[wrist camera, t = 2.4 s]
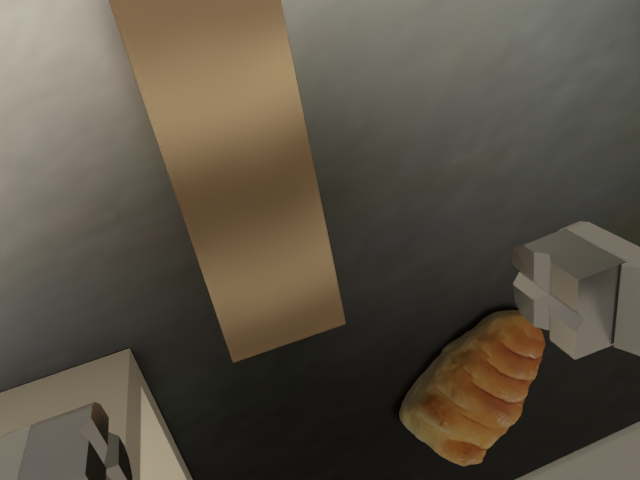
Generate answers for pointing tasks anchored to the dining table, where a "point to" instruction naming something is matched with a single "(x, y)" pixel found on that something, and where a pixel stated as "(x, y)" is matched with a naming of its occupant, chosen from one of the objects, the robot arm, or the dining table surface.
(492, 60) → the dining table surface
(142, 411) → the peg frame
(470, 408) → the pastry
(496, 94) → the dining table surface
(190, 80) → the shelf board
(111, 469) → the robot arm
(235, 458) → the dining table surface
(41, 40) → the dining table surface
